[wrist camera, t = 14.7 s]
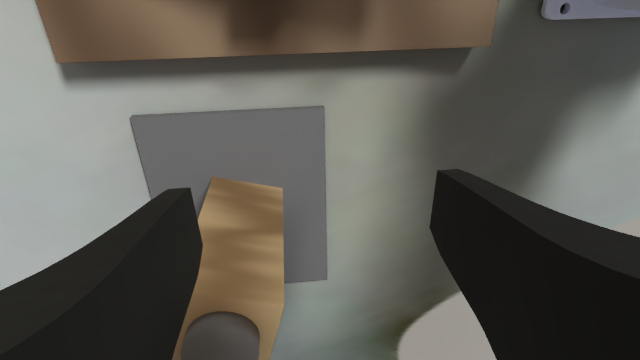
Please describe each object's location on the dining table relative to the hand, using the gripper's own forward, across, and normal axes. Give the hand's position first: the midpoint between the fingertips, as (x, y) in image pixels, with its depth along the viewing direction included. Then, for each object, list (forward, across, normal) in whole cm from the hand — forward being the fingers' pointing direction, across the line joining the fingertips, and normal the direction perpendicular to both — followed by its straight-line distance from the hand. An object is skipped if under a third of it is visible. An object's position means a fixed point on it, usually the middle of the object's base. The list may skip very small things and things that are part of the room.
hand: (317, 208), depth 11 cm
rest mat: (+10, +4, +6) cm, 12 cm away
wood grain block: (+10, +4, +6) cm, 12 cm away
